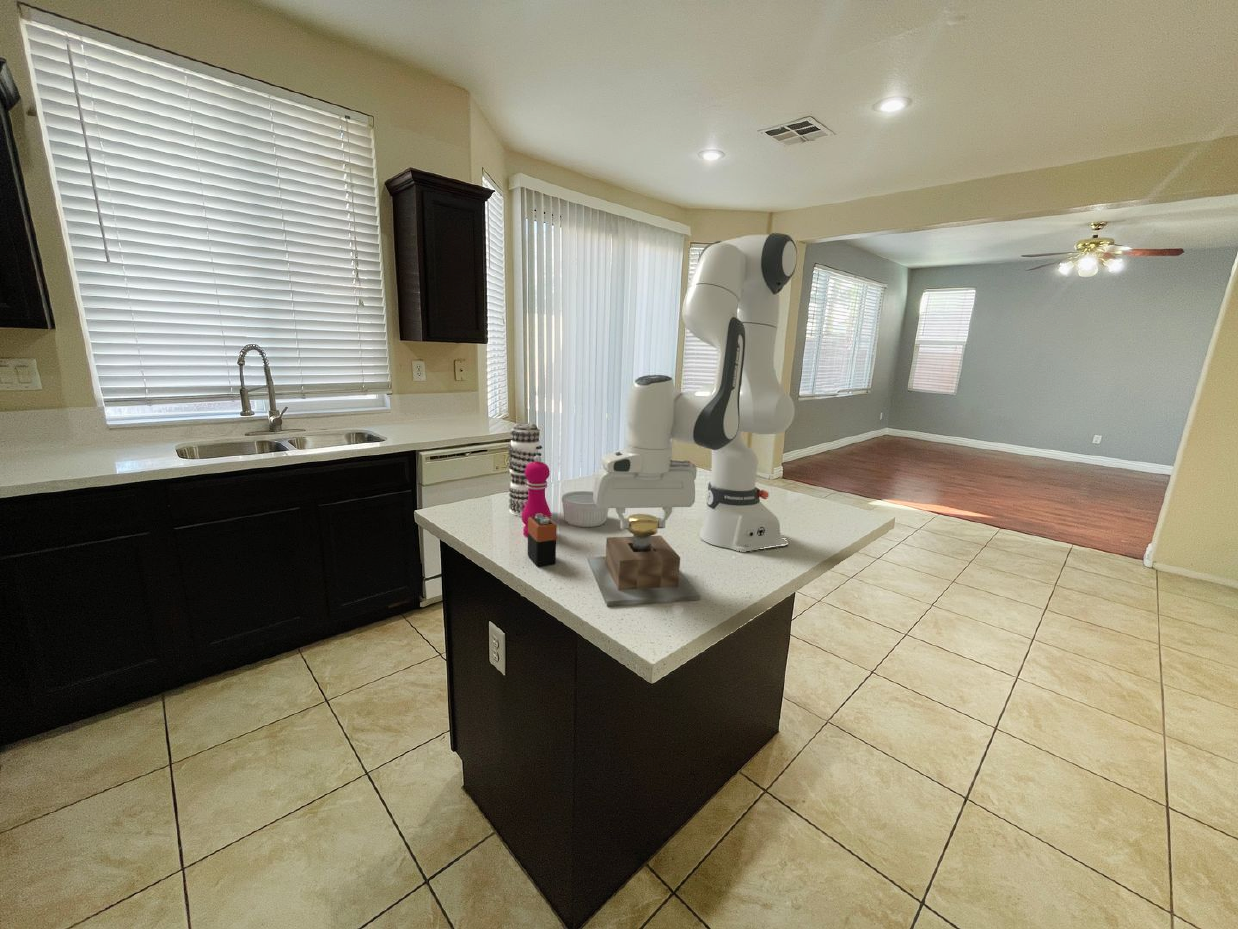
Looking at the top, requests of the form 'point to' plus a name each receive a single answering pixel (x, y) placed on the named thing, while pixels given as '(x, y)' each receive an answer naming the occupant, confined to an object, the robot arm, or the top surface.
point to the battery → (542, 540)
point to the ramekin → (583, 509)
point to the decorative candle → (521, 463)
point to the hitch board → (639, 593)
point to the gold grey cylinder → (642, 531)
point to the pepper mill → (536, 491)
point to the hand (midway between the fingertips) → (642, 528)
